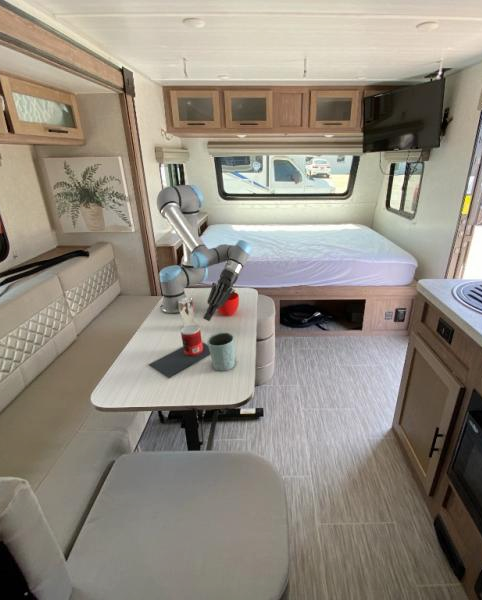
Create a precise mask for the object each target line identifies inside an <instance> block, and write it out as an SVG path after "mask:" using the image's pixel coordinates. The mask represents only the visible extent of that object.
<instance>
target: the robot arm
mask: <svg viewBox="0 0 482 600" xmlns="http://www.w3.org/2000/svg"><path fill="white" fill-rule="evenodd" d="M203 205H204V197H203V194H202V191H201V190H200V188H199V187H198V186H197V185H194V184H182V185H173V186H171V185H170V186H165V187H164V188H162V189H161V190H160V191H159V193H157V197H156V208H157V210H158V213H159V214H160V216H161V217H162V218H163V219H164V220H167V222H168V223H169V224H170V226H171V227H172V229H173V230H174V231H175V233H176V234H177V236H178V237H179V239H180V240H181V242H182V250H183V259H182V261H181V266H180V265H177V264H174V265H168V266H166V267H163V268H162V269H160V271H159V282H160V287H161V292H162V304H161V305H160V308H161V311H162V312H163V313H165V314H180V311H179V302H178V301H179V300H180V299H182V298H188V297H187V295H186V293H185V288H188V287H192V286H195V285H198V284H201V283H203V282H205V281H206V280H207V279H208V276H209V269H208V267H212V266H215V265H219V264H222V263H223V264H224V263H225V265H224V267H223V269H222V271H221V272H220V274H219V279H218V280H217V282H212V283H211V289H210V291H209V294H208V298H207V300H208V301H207V300H206V301H207V304H208V303H209V304H208V307H207V309H206V312H205V314H204V316H203V319H204V320H206V321H207V322H210V321H211V319H212V317H213V316H214V315H215V314H216V311H218V310H217V308H219V307H220V308H222V306H223V305H224V304H225V302H226V301H227V300H228V298H229V297H230V296H231V294H233V293H234V292H235V293H236V290H235V289H234V288H233V287H234V285H235V284H236V283H237V280H238V279H239V276H240V275H241V273H242V271H243V268H244V267H245V265H246V263H247V261H248V259H249V258H250V256H251V253H252V251H253V245H251V244H250V243H249V242H248V241H246V240H243V239H240V240H238V241H237V242H236V244H234V245H233V244H225V243H224V244H219V245H217V246H216V247H212V248H208V247H207V245H206V244H205V243H204V241H203V240H202V239H201V237H200V236H199V229H198V228H199V227H198V215H199V214H200V208H203Z"/></svg>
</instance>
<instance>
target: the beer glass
mask: <svg viewBox="0 0 482 600" xmlns="http://www.w3.org/2000/svg"><path fill="white" fill-rule="evenodd" d="M178 302H179V311H180V312H179V314H180V317H181V320H182V323H183V327H185V326H188V325H196V322H195V304H194V301H193V298H192V297H187V298H182V299H180V300H179V301H178ZM183 327H182V328H183Z"/></svg>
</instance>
